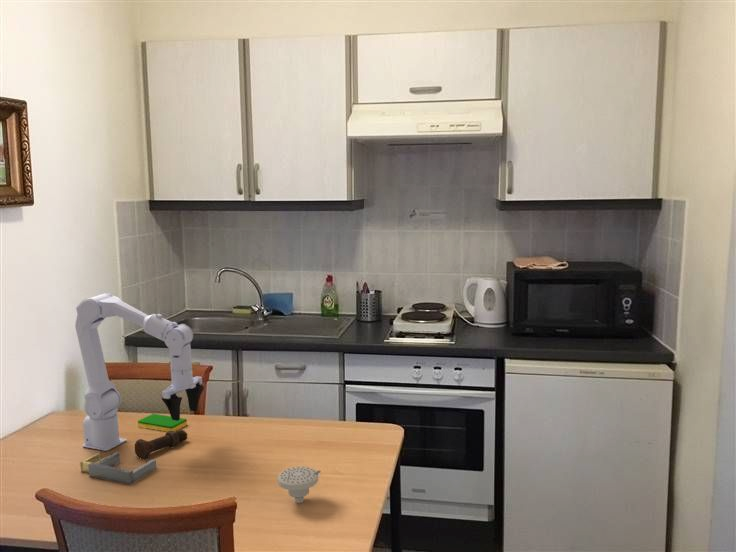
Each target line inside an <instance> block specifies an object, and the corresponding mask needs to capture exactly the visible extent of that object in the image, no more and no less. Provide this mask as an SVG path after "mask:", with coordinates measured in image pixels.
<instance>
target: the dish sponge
mask: <svg viewBox="0 0 736 552" xmlns="http://www.w3.org/2000/svg"><path fill="white" fill-rule="evenodd" d="M186 425H187V426H188V420H187V418H183V417H180V419H179V420H178V421H176V420H172V418H171V415H164V414H158V413H152V414H149V415H147V416H145V417H142V418H141V419H139V420H137V428H140V427H145V428H144V429H146V428H149V429H148V430H152V429H155V430H154V431H157V430H161V431H160V432H163V431H166V432H165V433H167V432H168V431H175V432H177V431H179V430H181V429H182V427H183V428H185V427H186ZM184 426H185V427H184ZM180 428H181V429H180ZM178 429H179V430H178ZM176 430H177V431H176Z"/></svg>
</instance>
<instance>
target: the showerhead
mask: <svg viewBox="0 0 736 552" xmlns="http://www.w3.org/2000/svg"><path fill="white" fill-rule="evenodd" d="M321 472H322V471H321V470H319V469H317V470H316V469H314V468H311V467H308V466H307V467H306V466H296V467H294V466H293V467H291V468H287V469H284V470H283V471H281V472H280V473H279V474H278V476H277V484H278V486H279V487H281V488H282V489H285V490H288V491H287V492H288V495H289V496H290V497H293V498H294V503H295V504H296V503H297V504H301V503H303V502H305V496H307V495H309V493H310V488H312V487H314V486H315V485H316V484H317V483H318V482H319V474H320V473H321Z"/></svg>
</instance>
